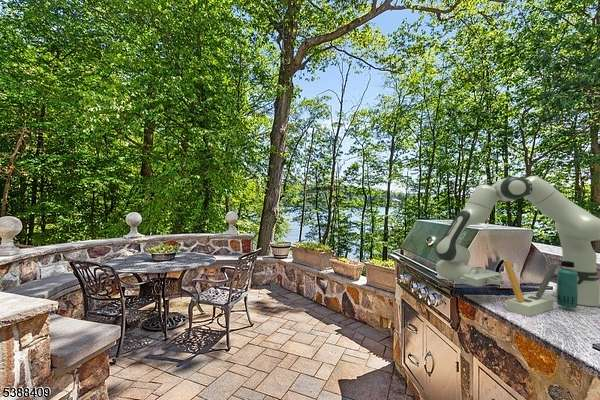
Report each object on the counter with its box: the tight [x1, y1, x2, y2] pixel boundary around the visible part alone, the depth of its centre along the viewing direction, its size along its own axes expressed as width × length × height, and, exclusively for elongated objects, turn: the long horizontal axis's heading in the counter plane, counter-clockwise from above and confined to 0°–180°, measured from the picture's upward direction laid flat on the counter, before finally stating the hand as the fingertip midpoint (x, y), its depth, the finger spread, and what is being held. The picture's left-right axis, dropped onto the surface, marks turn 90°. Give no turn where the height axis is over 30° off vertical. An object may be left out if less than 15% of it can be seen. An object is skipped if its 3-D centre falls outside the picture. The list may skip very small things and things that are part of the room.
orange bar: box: [502, 260, 524, 301], centre depth 118 cm, size 3×1×16 cm, turn 118°
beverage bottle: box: [556, 260, 578, 309], centre depth 119 cm, size 6×7×20 cm
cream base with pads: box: [505, 292, 554, 318], centre depth 119 cm, size 20×8×4 cm, turn 118°
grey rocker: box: [535, 262, 559, 297], centre depth 120 cm, size 3×1×16 cm, turn 118°
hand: (502, 282), depth 122 cm, fingers closed
